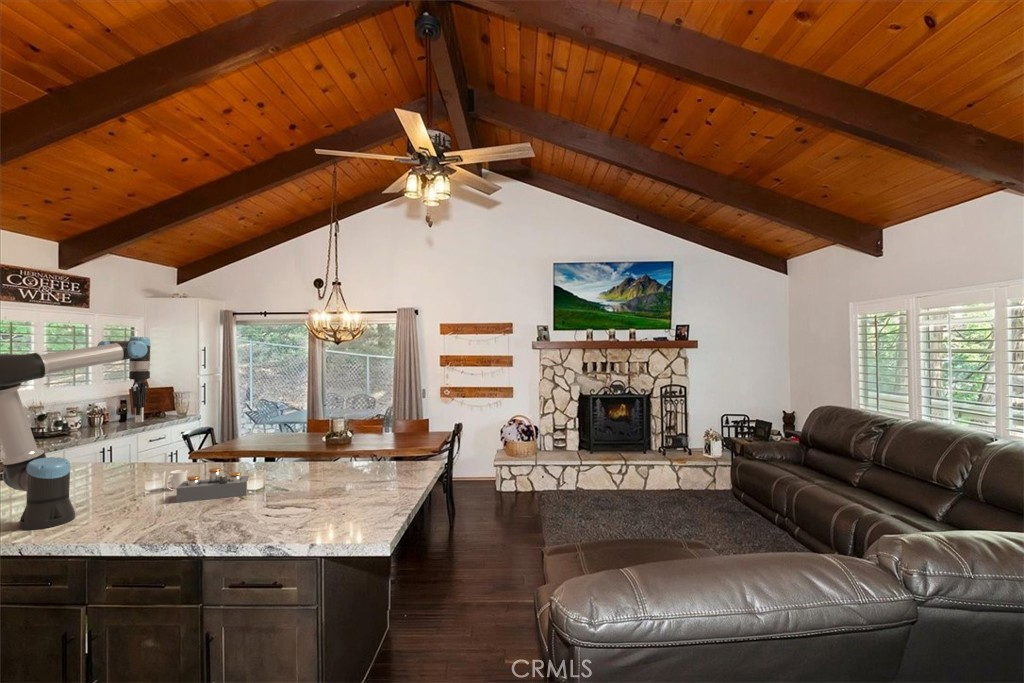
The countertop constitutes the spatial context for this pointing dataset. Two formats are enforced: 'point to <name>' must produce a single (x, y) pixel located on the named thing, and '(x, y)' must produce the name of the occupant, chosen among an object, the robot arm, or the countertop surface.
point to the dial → (223, 479)
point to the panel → (211, 490)
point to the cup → (177, 478)
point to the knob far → (235, 476)
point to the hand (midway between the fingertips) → (139, 421)
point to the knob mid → (214, 475)
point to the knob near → (193, 480)
